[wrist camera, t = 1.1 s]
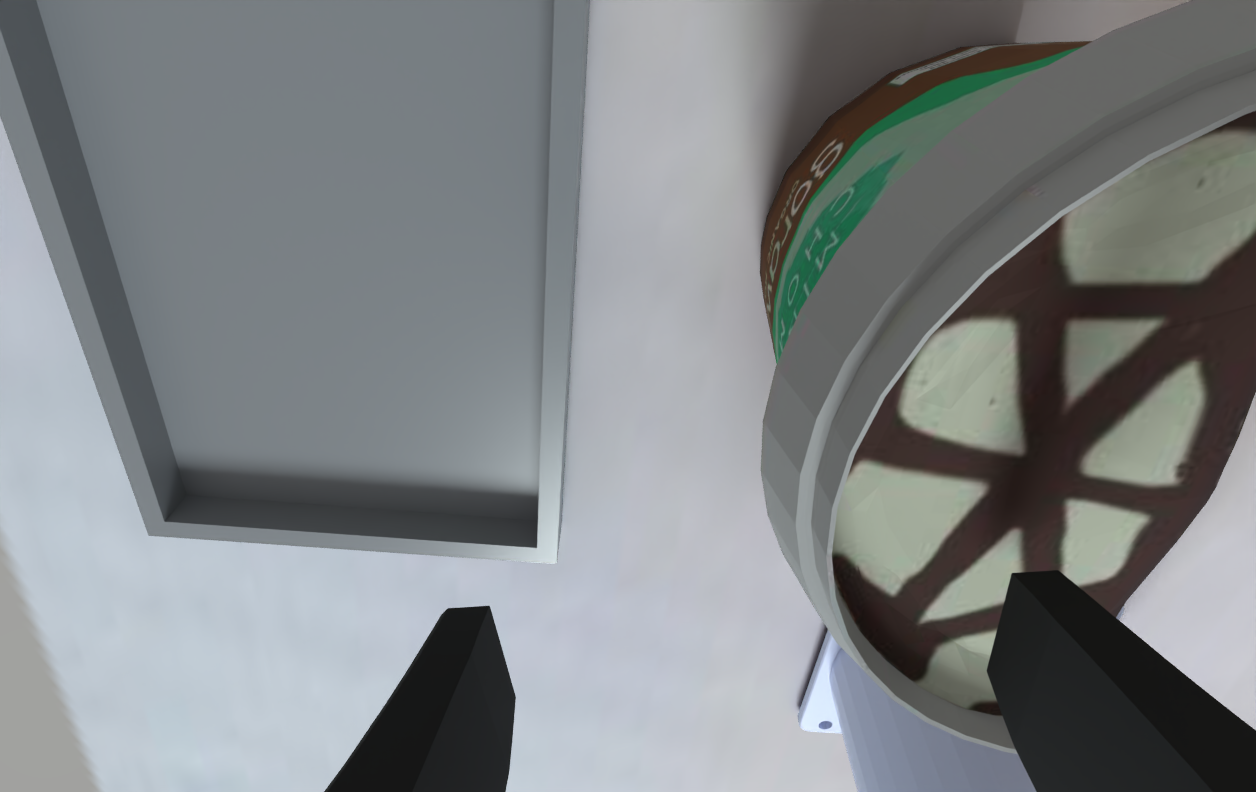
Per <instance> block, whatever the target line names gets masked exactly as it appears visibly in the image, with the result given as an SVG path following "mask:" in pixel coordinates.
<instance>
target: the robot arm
mask: <svg viewBox="0 0 1256 792" xmlns="http://www.w3.org/2000/svg"><path fill="white" fill-rule="evenodd" d="M1123 612H1124V606H1123V607H1122V609H1121V611H1120V612H1119V614H1118V615H1117V617H1116V618H1115V617H1114V616H1113V615H1112V614H1111V613H1109V612H1108V611H1107V610H1106V609H1105V608H1103V607H1102V606H1101V605H1100V604H1099V603H1097V602H1096V601H1095V600H1094V599H1093V598H1091V597H1090V596H1089V595H1088V594H1087V593H1086V592H1084V591H1083V590H1082V589H1081V588H1079V587H1078V586H1077V585H1076V584H1075V583H1073V582H1072V581H1071V580H1070V579H1068V578H1067V577H1066V576H1065V575H1064V574H1062V573H1061V572H1060V571H1059V570H1052V571H1036V572H1020V573H1012V574H1011V578H1010V582H1009V586H1008V589H1007V593H1006V597H1005V601H1004V605H1003V609H1002V613H1001V617H1000V620H999V624H998V628H997V632H996V636H995V640H994V644H993V647H992V651H991V655H990V659H989V663H988V667H987V674H988V677H989V680H990V682H991V685H992V688H993V691H994V694H995V697H996V699H997V702H998V705H999V708H1000V711H1001V713H1002V716H1003V719H1004V721H1005V724H1006V726H1007V729H1008V732H1009V734H1010V737H1011V740H1012V742H1013V745H1014V747H1015V749H1016V751H1017V753H1018V754H1014V753H1008V752H1004V751H1000V750H997V749H994V748H990V747H987V746H983V745H980V744H977V743H973V742H970V741H967V740H963V739H961V738H959V737H957V736H955V735H952V734H950V733H948V732H946V731H944V730H942V729H939V728H937V727H935V726H933V725H931V724H929V723H926V722H925V721H923V720H922V719H920V718H919V717H917V716H916V715H914V714H913V713H911V712H910V711H908V710H907V709H905V708H904V707H902V706H901V705H900V704H898V703H897V702H895V701H894V700H892V699H891V698H890V697H889V696H888V695H887V694H886V693H885V692H884V691H883V690H882V689H881V688H880V687H879V686H878V685H877V684H876V683H875V682H874V681H873V680H872V679H871V678H870V677H869V676H868V675H867V674H866V673H865V672H864V670H863V669H862V668H861V667H860V666H859V665H858V664H857V663H856V662H855V661H854V660H853V659H852V658H851V657H850V656H849V655H848V654H847V653H846V652H845V651H844V650H843V649H842V648H841V647H840V646H839V645H838V644H837V643H836V641H835V639H834V638H833V636H832V635H831V633H830V632H829V630H828V631H827V634H826V637H825V639H824V642H823V645H822V648H821V651H820V654H819V656H818V659H817V662H816V665H815V668H814V671H813V674H812V676H811V679H810V682H809V685H808V688H807V691H806V693H805V696H804V699H803V702H802V705H801V708H800V710H799V713H798V722H799V726H800V727H801V728H802V729H804V730H805V731H811V732H827V733H842V735H843V739H844V742H845V746H846V750H847V753H848V757H849V761H850V765H851V768H852V772H853V776H854V779H855V783H856V787H857V790H858V792H1256V730H1254V729H1253V728H1252V727H1250V726H1249V725H1248V724H1247V723H1245V722H1244V721H1243V720H1241V719H1240V718H1239V717H1237V716H1236V715H1235V714H1234V713H1232V712H1231V711H1230V710H1229V709H1227V708H1226V707H1225V706H1223V705H1222V704H1221V703H1220V702H1218V701H1217V700H1216V699H1215V698H1213V697H1212V696H1211V695H1210V694H1208V693H1207V692H1206V691H1204V690H1203V689H1202V688H1201V687H1199V686H1198V685H1197V684H1196V683H1194V682H1193V681H1192V680H1191V679H1189V678H1188V677H1187V676H1186V675H1185V674H1183V673H1182V672H1181V671H1180V670H1178V669H1177V668H1176V667H1175V666H1173V665H1172V664H1171V663H1170V662H1169V661H1167V660H1166V659H1165V658H1164V657H1162V656H1161V655H1160V654H1159V653H1158V652H1156V651H1155V650H1154V649H1153V648H1152V647H1150V646H1149V645H1148V644H1147V643H1146V642H1144V641H1143V640H1142V639H1141V638H1139V637H1138V636H1137V635H1136V634H1135V633H1133V632H1132V631H1131V630H1130V629H1129V628H1127V627H1126V626H1125V625H1124V624H1123V623H1121V622H1120V621H1119V619H1120V617H1121V616H1122V614H1123ZM515 699H516V697H515V693H514V690H513V686H512V683H511V679H510V676H509V672H508V669H507V665H506V662H505V658H504V655H503V651H502V647H501V644H500V640H499V637H498V633H497V630H496V626H495V623H494V619H493V616H492V612H491V609H490V606H479V607H464V608H448V609H447V610H446V611H445V612H444V613H443V614H442V615H441V616H440V618H439V620H438V621H437V623H436V625H435V626H434V628H433V630H432V631H431V633H430V635H429V636H428V638H427V640H426V641H425V643H424V644H423V646H422V648H421V649H420V651H419V653H418V654H417V656H416V657H415V659H414V661H413V662H412V664H411V665H410V667H409V669H408V670H407V672H406V673H405V675H404V676H403V678H402V680H401V681H400V683H399V684H398V686H397V687H396V689H395V690H394V692H393V693H392V695H391V697H390V698H389V700H388V701H387V703H386V704H385V706H384V707H383V709H382V710H381V712H380V713H379V715H378V716H377V718H376V719H375V720H374V722H373V723H372V725H371V726H370V728H369V729H368V731H367V732H366V734H365V735H364V737H363V738H362V740H361V741H360V743H359V744H358V746H357V747H356V748H355V750H354V751H353V753H352V754H351V756H350V757H349V759H348V760H347V761H346V763H345V764H344V766H343V767H342V768H341V770H340V771H339V772H338V774H337V775H336V777H335V778H334V779H333V781H332V782H331V783H330V785H329V786H328V787H327V789H326V790H325V791H324V792H505V791H506V785H507V780H508V775H509V767H510V757H511V747H512V736H513V724H514V711H515Z"/></svg>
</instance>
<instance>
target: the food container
mask: <svg viewBox="0 0 1256 792" xmlns="http://www.w3.org/2000/svg"><path fill="white" fill-rule="evenodd" d="M760 276H761V283H762V290H763V297H764V302H765V308H766V313H767V318H768V323H769V328H770V333H771V338H772V343H773V348H774V353H775V358H776V363H777V366H776V369H775V373H774V377H773V381H772V386H771V390H770V394H769V398H768V402H767V407H766V411H765V415H764V419H763V433H762V455H761V475H762V481H763V488H764V494H765V500H766V507H767V513H768V517H769V519H770V522H771V524H772V527H773V530H774V532H775V535H776V537H777V540H778V543H779V545H780V548H781V551H782V553H783V555H784V557H785V558H786V560H787V562H788V564H789V565H790V567H791V569H792V570H793V572H794V574H795V576H796V577H797V579H798V581H799V582H800V584H801V586H802V588H803V589H804V591H805V593H806V594H807V596H808V598H809V599H810V601H811V603H812V605H813V606H814V608H815V610H816V611H817V613H818V614H819V616H820V618H821V619H822V621H823V622H824V624H825V625H826V627H827V628H828V630H829V632H830V633H831V635H832V636H833V638H834V639H835V641H836V643H837V644H838V645H839V646H840V647H841V648H842V649H843V650H844V651H845V652H846V653H847V654H848V655H849V656H850V657H851V658H852V659H853V660H854V661H855V662H856V663H857V664H858V665H859V666H860V667H861V668H862V669H863V670H864V672H865V673H866V674H867V675H868V676H869V677H870V678H871V679H872V680H873V681H874V682H875V683H876V684H877V685H878V686H879V687H880V688H881V689H882V690H883V691H884V692H885V693H886V694H887V695H888V696H889V697H890V698H891V699H892V700H894V701H895V702H897V703H898V704H900V705H901V706H902V707H904V708H905V709H907V710H908V711H910V712H911V713H913V714H914V715H916V716H917V717H919V718H920V719H922V720H923V721H925V722H926V723H929V724H931V725H933V726H935V727H937V728H939V729H942V730H944V731H946V732H948V733H950V734H952V735H955V736H957V737H959V738H961V739H963V740H967V741H970V742H973V743H977V744H980V745H983V746H987V747H990V748H994V749H997V750H1000V751H1004V752H1008V753H1014V754H1018V753H1017V751H1016V749H1015V747H1014V745H1013V742H1012V740H1011V737H1010V734H1009V732H1008V729H1007V726H1006V724H1005V721H1004V719H1003V716H1002V713H1001V711H1000V708H999V705H998V702H997V699H996V697H995V694H994V691H993V688H992V685H991V682H990V680H989V677H988V674H987V667H988V663H989V659H990V655H991V651H992V647H993V644H994V640H995V636H996V632H997V628H998V624H999V620H1000V617H1001V613H1002V609H1003V605H1004V601H1005V597H1006V593H1007V589H1008V586H1009V582H1010V578H1011V574H1012V573H1020V572H1036V571H1052V570H1059V571H1060V572H1061V573H1062V574H1064V575H1065V576H1066V577H1067V578H1068V579H1070V580H1071V581H1072V582H1073V583H1075V584H1076V585H1077V586H1078V587H1079V588H1081V589H1082V590H1083V591H1084V592H1086V593H1087V594H1088V595H1089V596H1090V597H1091V598H1093V599H1094V600H1095V601H1096V602H1097V603H1099V604H1100V605H1101V606H1102V607H1103V608H1105V609H1106V610H1107V611H1108V612H1109V613H1111V614H1112V615H1113V616H1114V617H1115V618H1116V617H1117V615H1118V614H1119V612H1120V611H1121V609H1122V607H1123V606H1124V604H1125V602H1126V601H1127V600H1128V598H1129V597H1130V596H1131V595H1132V594H1133V592H1134V591H1135V590H1136V589H1137V588H1138V587H1139V585H1140V584H1141V583H1142V582H1143V581H1144V580H1145V578H1146V577H1147V576H1148V575H1149V574H1150V572H1151V571H1152V570H1153V569H1154V568H1155V567H1156V565H1157V564H1158V563H1159V562H1160V561H1161V559H1162V558H1163V557H1164V556H1165V555H1166V554H1167V552H1168V551H1169V550H1170V549H1171V548H1172V547H1173V545H1174V544H1175V543H1176V542H1177V541H1178V539H1179V538H1180V537H1181V535H1182V534H1183V533H1184V532H1185V530H1186V529H1187V528H1188V526H1189V525H1190V524H1191V522H1192V521H1193V520H1194V518H1195V517H1196V516H1197V514H1198V513H1199V512H1200V510H1201V509H1202V508H1203V507H1204V505H1205V504H1206V503H1207V501H1208V499H1209V498H1210V496H1211V495H1212V493H1213V491H1214V490H1215V488H1216V486H1217V484H1218V481H1219V479H1220V476H1221V474H1222V472H1223V469H1224V467H1225V465H1226V463H1227V461H1228V459H1229V456H1230V454H1231V452H1232V450H1233V448H1234V446H1235V444H1236V441H1237V439H1238V437H1239V434H1240V432H1241V429H1242V427H1243V424H1244V421H1245V419H1246V416H1247V413H1248V411H1249V408H1250V406H1251V403H1252V400H1253V398H1254V395H1255V392H1256V0H1192V1H1189V2H1186V3H1184V4H1181V5H1178V6H1176V7H1173V8H1171V9H1168V10H1165V11H1163V12H1160V13H1158V14H1155V15H1152V16H1150V17H1147V18H1144V19H1142V20H1139V21H1137V22H1134V23H1131V24H1129V25H1126V26H1123V27H1121V28H1118V29H1116V30H1113V31H1111V32H1109V33H1108V34H1106V35H1104V36H1102V37H1100V38H1098V39H1096V40H1095V41H1084V42H1045V43H1012V44H998V45H984V46H970V47H960V48H957V49H955V50H952V51H949V52H946V53H944V54H941V55H938V56H935V57H933V58H930V59H927V60H924V61H922V62H919V63H916V64H913V65H911V66H908V67H905V68H902V69H899V70H897V71H894V72H891V73H889V74H888V75H886V76H885V77H884V78H882V79H881V80H880V81H878V82H877V83H875V84H874V85H873V86H871V87H870V88H868V89H867V90H866V91H864V92H863V93H862V94H860V95H859V96H857V97H856V98H855V99H853V100H852V101H850V102H849V103H848V104H846V105H845V106H844V107H842V108H841V109H839V110H838V111H837V112H835V113H834V114H833V115H831V116H830V117H829V118H828V119H827V120H826V122H825V123H824V124H823V125H822V127H821V128H820V129H819V131H818V132H817V133H816V134H815V136H814V137H813V138H812V139H811V141H810V142H809V143H808V144H807V146H806V147H805V148H804V149H803V151H802V152H801V153H800V155H799V156H798V157H797V158H796V160H795V161H794V162H793V163H792V165H791V166H790V167H789V168H788V170H787V171H786V173H785V176H784V178H783V180H782V183H781V185H780V187H779V190H778V192H777V195H776V197H775V199H774V202H773V204H772V206H771V209H770V211H769V213H768V216H767V220H766V225H765V229H764V234H763V239H762V244H761V262H760Z"/></svg>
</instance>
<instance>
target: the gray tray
mask: <svg viewBox="0 0 1256 792" xmlns="http://www.w3.org/2000/svg"><path fill="white" fill-rule="evenodd" d="M589 9H590V0H0V116H1V119H2V122H3V125H4V128H5V131H6V133H7V136H8V139H9V142H10V145H11V148H12V150H13V153H14V156H15V159H16V162H17V164H18V167H19V170H20V173H21V176H22V179H23V181H24V184H25V187H26V190H27V193H28V196H29V198H30V201H31V204H32V207H33V210H34V213H35V215H36V218H37V221H38V224H39V227H40V230H41V232H42V235H43V238H44V241H45V244H46V247H47V249H48V252H49V255H50V258H51V261H52V264H53V266H54V269H55V272H56V275H57V278H58V280H59V283H60V286H61V289H62V292H63V295H64V297H65V300H66V303H67V306H68V309H69V312H70V314H71V317H72V320H73V323H74V326H75V329H76V331H77V334H78V337H79V340H80V343H81V346H82V348H83V351H84V354H85V357H86V360H87V363H88V365H89V368H90V371H91V374H92V377H93V380H94V382H95V385H96V388H97V391H98V394H99V396H100V399H101V402H102V405H103V408H104V411H105V413H106V416H107V419H108V422H109V425H110V428H111V430H112V433H113V436H114V439H115V442H116V445H117V447H118V450H119V453H120V456H121V459H122V462H123V464H124V467H125V470H126V473H127V476H128V479H129V481H130V484H131V487H132V490H133V493H134V496H135V498H136V501H137V504H138V507H139V510H140V512H141V515H142V518H143V521H144V524H145V527H146V529H147V532H148V535H149V536H161V537H176V538H190V539H204V540H219V541H233V542H247V543H261V544H276V545H290V546H304V547H319V548H333V549H347V550H362V551H376V552H390V553H405V554H419V555H433V556H448V557H462V558H476V559H490V560H505V561H519V562H533V563H548V564H557V557H558V549H559V541H560V533H561V522H562V504H563V485H564V467H565V449H566V430H567V412H568V394H569V375H570V357H571V339H572V320H573V302H574V284H575V265H576V247H577V229H578V210H579V192H580V174H581V155H582V137H583V119H584V100H585V82H586V64H587V45H588V27H589Z"/></svg>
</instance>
